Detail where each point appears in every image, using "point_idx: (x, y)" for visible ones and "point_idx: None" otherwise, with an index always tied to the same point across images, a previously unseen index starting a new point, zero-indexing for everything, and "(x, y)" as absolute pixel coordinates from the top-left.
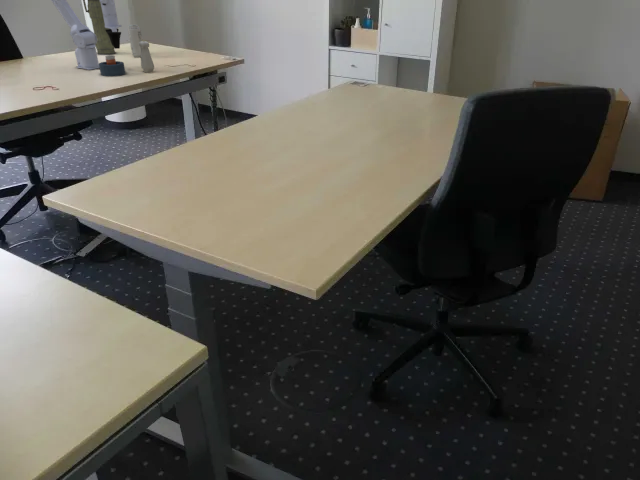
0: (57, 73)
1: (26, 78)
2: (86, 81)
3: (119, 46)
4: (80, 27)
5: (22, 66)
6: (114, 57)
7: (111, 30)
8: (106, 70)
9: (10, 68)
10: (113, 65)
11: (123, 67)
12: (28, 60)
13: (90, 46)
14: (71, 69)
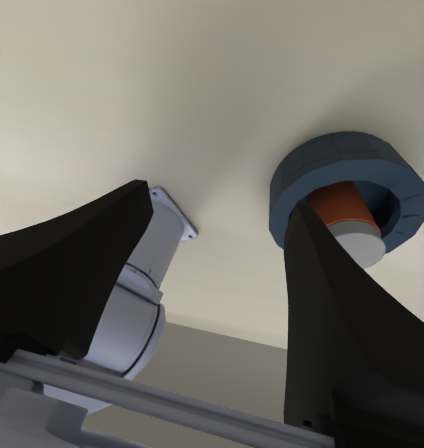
0: (217, 290)
1: (248, 327)
2: (394, 285)
3: (318, 216)
4: (69, 394)
5: None
6: (375, 231)
7: (54, 331)
8: None
9: None
10: (417, 230)
11: (404, 160)
12: None
13: (140, 285)
14: (171, 261)
